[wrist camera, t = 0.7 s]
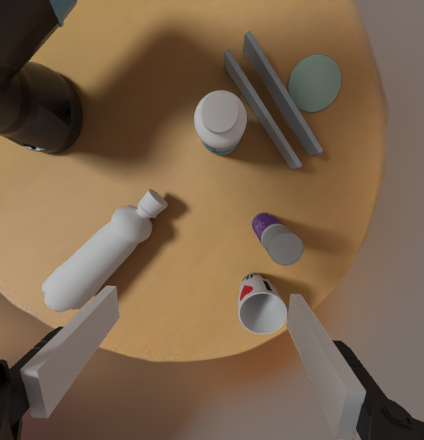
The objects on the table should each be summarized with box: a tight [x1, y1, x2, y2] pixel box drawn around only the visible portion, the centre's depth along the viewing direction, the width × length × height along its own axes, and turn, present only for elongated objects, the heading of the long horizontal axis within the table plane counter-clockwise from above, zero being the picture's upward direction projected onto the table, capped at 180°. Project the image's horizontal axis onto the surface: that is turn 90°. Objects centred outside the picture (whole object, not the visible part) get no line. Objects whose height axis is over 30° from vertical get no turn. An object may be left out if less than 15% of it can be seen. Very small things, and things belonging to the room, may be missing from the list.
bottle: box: [42, 189, 168, 312], centre depth 39 cm, size 9×9×30 cm
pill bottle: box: [194, 90, 247, 155], centre depth 30 cm, size 8×7×14 cm
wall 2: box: [224, 49, 302, 169], centre depth 34 cm, size 22×1×4 cm, turn 36°
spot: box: [288, 54, 342, 112], centre depth 34 cm, size 9×9×1 cm
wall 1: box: [243, 30, 323, 156], centre depth 33 cm, size 22×1×4 cm, turn 36°
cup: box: [238, 273, 287, 334], centre depth 38 cm, size 8×8×10 cm
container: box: [252, 213, 304, 265], centre depth 33 cm, size 5×5×15 cm
